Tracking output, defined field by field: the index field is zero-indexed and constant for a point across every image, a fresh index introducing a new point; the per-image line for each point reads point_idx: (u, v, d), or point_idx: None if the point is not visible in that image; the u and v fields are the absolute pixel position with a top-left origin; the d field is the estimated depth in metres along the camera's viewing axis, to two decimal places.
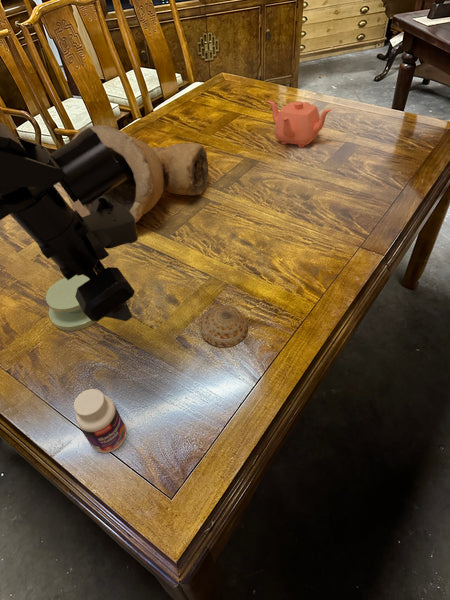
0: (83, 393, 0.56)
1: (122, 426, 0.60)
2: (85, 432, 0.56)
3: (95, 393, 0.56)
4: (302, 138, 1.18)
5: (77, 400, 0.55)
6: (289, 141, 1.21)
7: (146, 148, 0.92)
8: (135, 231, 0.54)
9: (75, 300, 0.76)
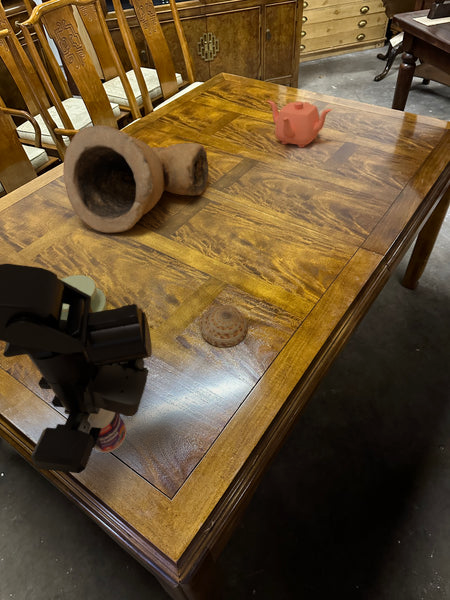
0: None
1: (122, 426, 0.60)
2: None
3: None
4: (302, 139, 1.18)
5: None
6: (289, 141, 1.21)
7: (146, 148, 0.92)
8: (134, 411, 0.51)
9: None
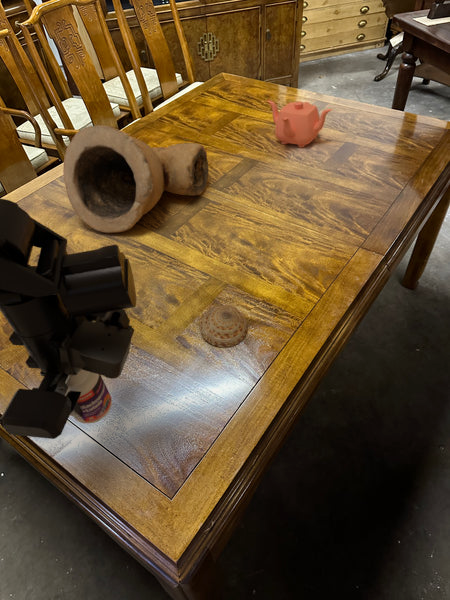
0: None
1: (107, 395, 0.55)
2: None
3: None
4: (302, 138, 1.18)
5: None
6: (289, 141, 1.21)
7: (146, 148, 0.92)
8: (117, 371, 0.46)
9: None
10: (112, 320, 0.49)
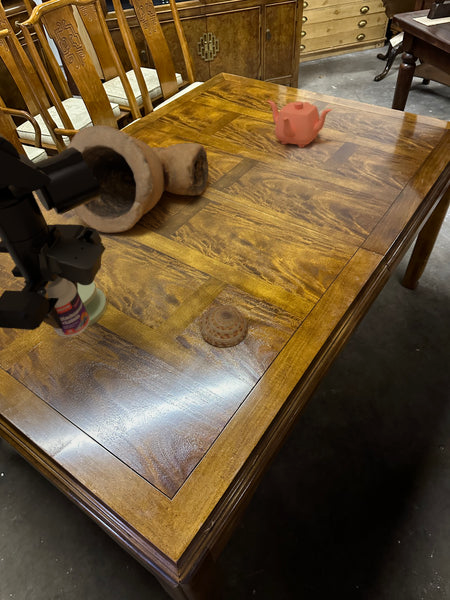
0: None
1: (84, 312, 0.63)
2: None
3: None
4: (302, 139, 1.18)
5: None
6: (289, 141, 1.21)
7: (146, 148, 0.92)
8: (88, 278, 0.54)
9: None
10: (86, 239, 0.57)
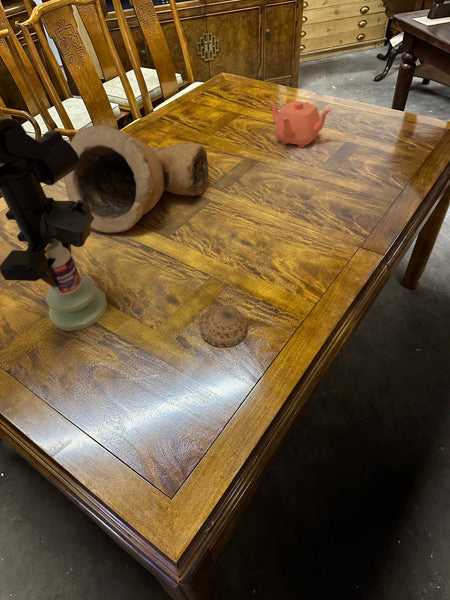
0: None
1: (77, 274, 0.75)
2: None
3: None
4: (302, 139, 1.18)
5: None
6: (289, 141, 1.21)
7: (146, 148, 0.92)
8: (80, 241, 0.66)
9: (75, 300, 0.76)
10: (78, 210, 0.69)
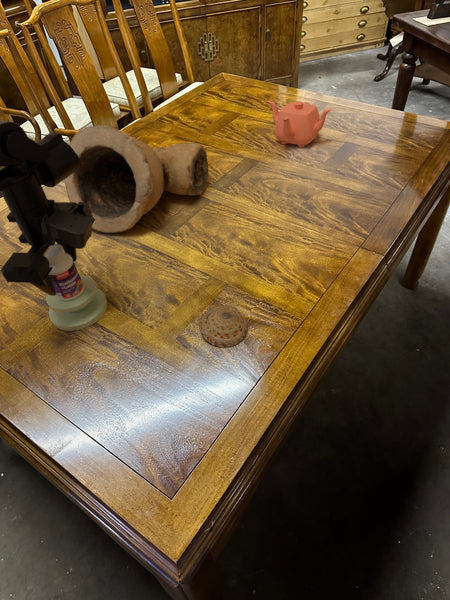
0: None
1: (80, 280, 0.76)
2: None
3: (56, 246, 0.72)
4: (302, 139, 1.18)
5: None
6: (289, 141, 1.21)
7: (146, 148, 0.92)
8: (81, 242, 0.66)
9: (75, 300, 0.76)
10: (79, 212, 0.69)
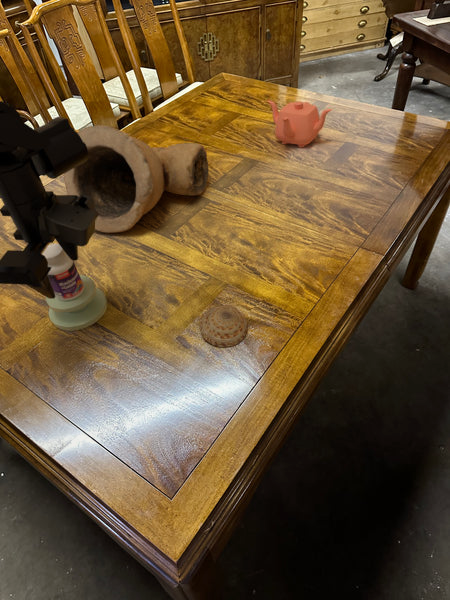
0: (47, 246, 0.72)
1: (80, 280, 0.76)
2: (48, 276, 0.72)
3: (56, 246, 0.72)
4: (302, 139, 1.18)
5: None
6: (289, 141, 1.21)
7: (146, 148, 0.92)
8: (83, 239, 0.59)
9: (75, 300, 0.76)
10: (81, 206, 0.62)
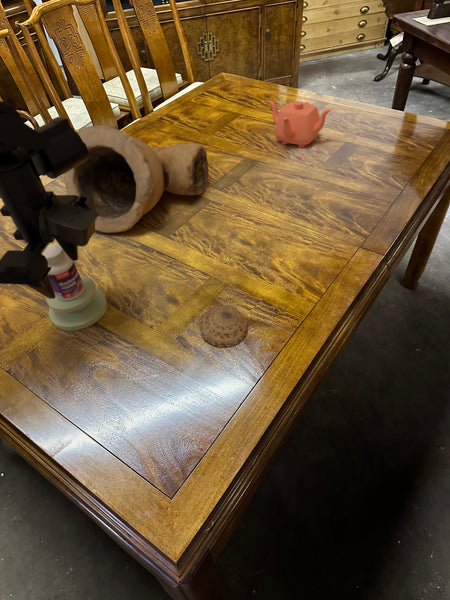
0: (47, 246, 0.72)
1: (80, 280, 0.76)
2: (48, 276, 0.72)
3: (56, 246, 0.72)
4: (302, 139, 1.18)
5: None
6: (289, 141, 1.21)
7: (146, 148, 0.92)
8: (83, 239, 0.59)
9: (75, 300, 0.76)
10: (81, 206, 0.62)
